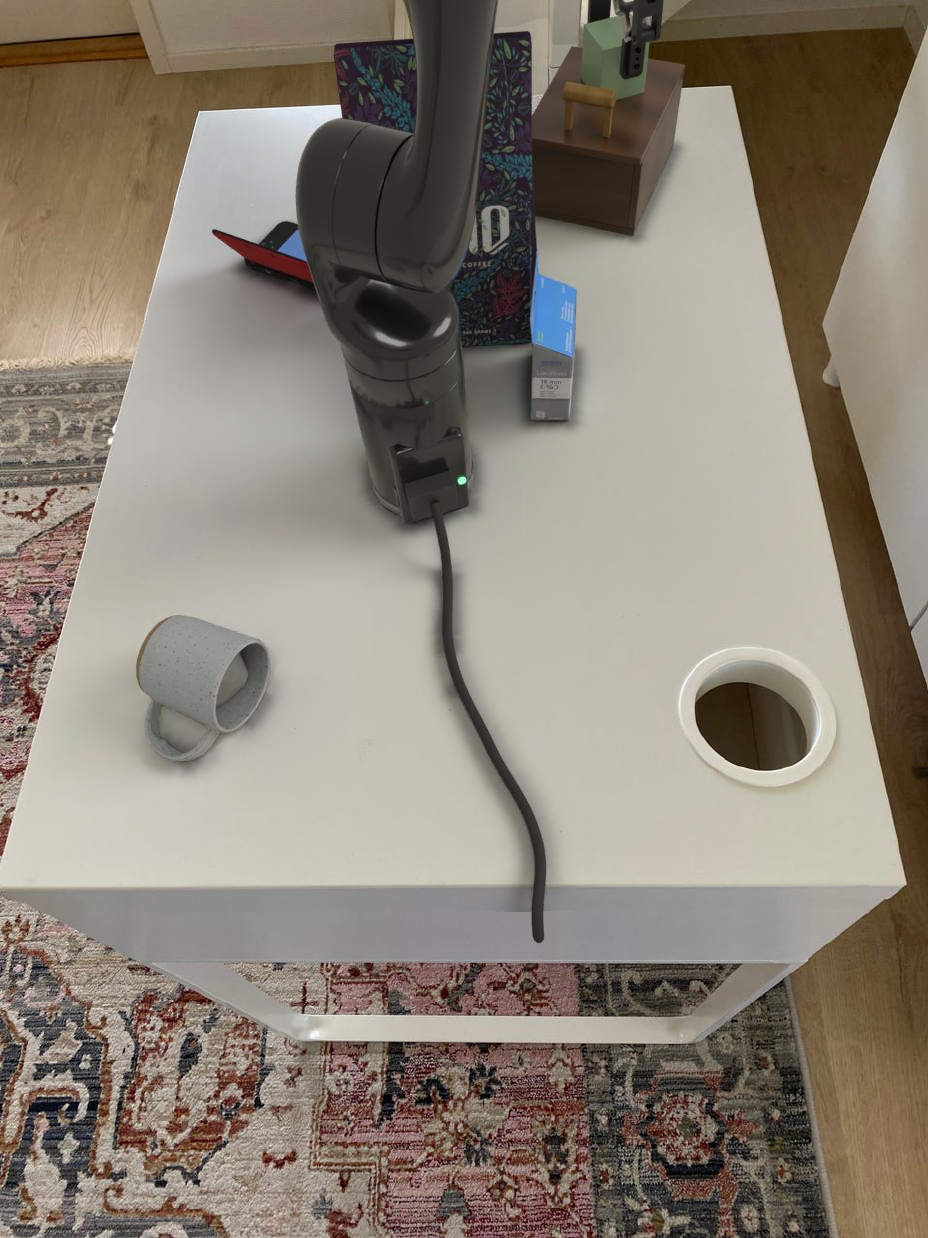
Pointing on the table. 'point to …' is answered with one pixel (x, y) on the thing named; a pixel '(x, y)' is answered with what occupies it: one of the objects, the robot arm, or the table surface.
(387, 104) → the coffee bag
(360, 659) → the table surface
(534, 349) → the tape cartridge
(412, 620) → the table surface
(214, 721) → the ceramic mug
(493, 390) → the table surface
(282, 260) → the handheld console
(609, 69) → the block
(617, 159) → the lid
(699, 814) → the table surface
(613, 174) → the chest
